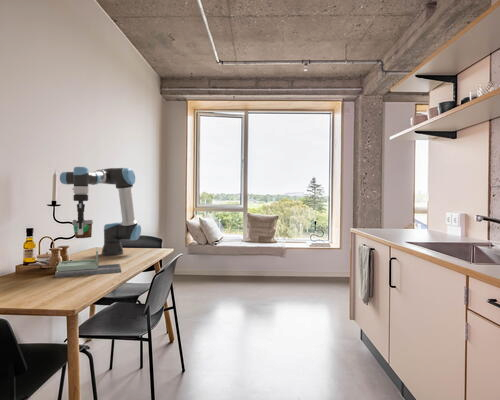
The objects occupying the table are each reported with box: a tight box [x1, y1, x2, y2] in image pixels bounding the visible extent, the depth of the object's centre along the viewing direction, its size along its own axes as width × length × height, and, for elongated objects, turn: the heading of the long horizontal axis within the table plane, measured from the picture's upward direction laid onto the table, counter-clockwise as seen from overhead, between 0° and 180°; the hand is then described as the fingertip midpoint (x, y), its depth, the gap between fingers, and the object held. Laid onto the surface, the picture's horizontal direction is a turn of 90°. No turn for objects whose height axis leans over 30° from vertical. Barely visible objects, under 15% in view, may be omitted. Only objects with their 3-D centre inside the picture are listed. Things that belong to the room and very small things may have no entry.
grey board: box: [54, 263, 122, 279], centre depth 195 cm, size 18×33×2 cm, turn 114°
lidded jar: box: [36, 251, 52, 262], centre depth 204 cm, size 11×11×9 cm
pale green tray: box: [56, 246, 99, 272], centre depth 192 cm, size 16×20×10 cm
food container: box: [71, 219, 94, 239], centre depth 192 cm, size 12×6×10 cm, turn 75°
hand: (80, 233), depth 193 cm, fingers closed on food container, 8 cm apart
